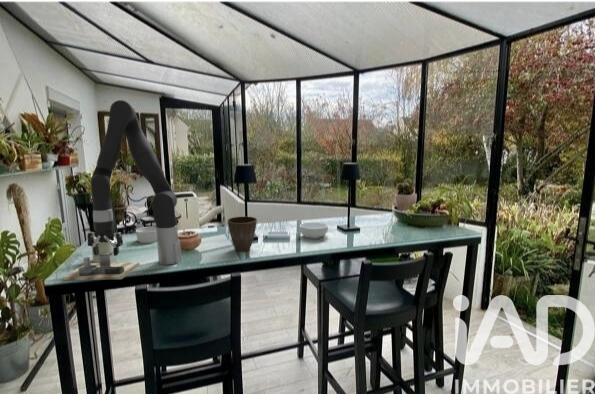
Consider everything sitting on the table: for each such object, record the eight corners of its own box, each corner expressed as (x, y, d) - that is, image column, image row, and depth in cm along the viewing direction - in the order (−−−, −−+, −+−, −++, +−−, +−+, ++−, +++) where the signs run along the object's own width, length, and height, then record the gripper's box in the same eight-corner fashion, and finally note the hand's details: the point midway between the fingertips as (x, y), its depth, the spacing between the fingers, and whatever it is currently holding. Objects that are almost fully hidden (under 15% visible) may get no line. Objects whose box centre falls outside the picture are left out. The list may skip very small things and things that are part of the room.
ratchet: (126, 269, 141) (125, 254, 140) (118, 275, 134) (117, 259, 133) (85, 270, 141) (83, 255, 139) (75, 276, 134) (73, 260, 133)
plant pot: (253, 243, 180) (253, 215, 177) (260, 251, 166) (260, 221, 164) (226, 247, 175) (225, 217, 172) (231, 255, 161) (230, 224, 158)
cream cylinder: (118, 259, 158) (115, 235, 156) (96, 264, 151) (93, 239, 149) (111, 255, 164) (108, 231, 162) (90, 260, 157) (87, 235, 155)
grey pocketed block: (116, 264, 148) (115, 251, 147) (110, 267, 143) (109, 254, 142) (106, 264, 148) (104, 251, 147) (100, 268, 143) (98, 254, 142)
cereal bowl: (328, 241, 184) (329, 228, 183) (299, 241, 184) (299, 229, 183) (326, 233, 200) (326, 221, 199) (299, 233, 201) (299, 221, 200)
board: (139, 265, 149) (139, 262, 149) (121, 279, 134) (121, 276, 133) (87, 265, 149) (87, 263, 149) (62, 280, 134) (62, 277, 133)
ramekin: (161, 242, 184) (160, 230, 183) (135, 245, 179) (134, 233, 178) (161, 236, 196) (160, 225, 195) (137, 239, 192) (136, 227, 191)
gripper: (124, 217, 146) (126, 252, 149) (92, 217, 146) (95, 252, 149) (114, 221, 139) (117, 258, 141) (81, 221, 139) (84, 257, 141)
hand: (106, 255), depth 145 cm, fingers open, 8 cm apart
